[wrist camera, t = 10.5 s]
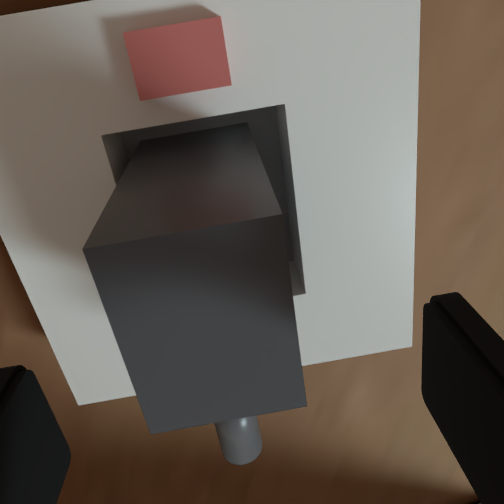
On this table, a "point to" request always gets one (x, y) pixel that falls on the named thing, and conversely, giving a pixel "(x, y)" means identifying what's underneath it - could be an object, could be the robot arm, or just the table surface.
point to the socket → (206, 117)
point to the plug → (200, 286)
